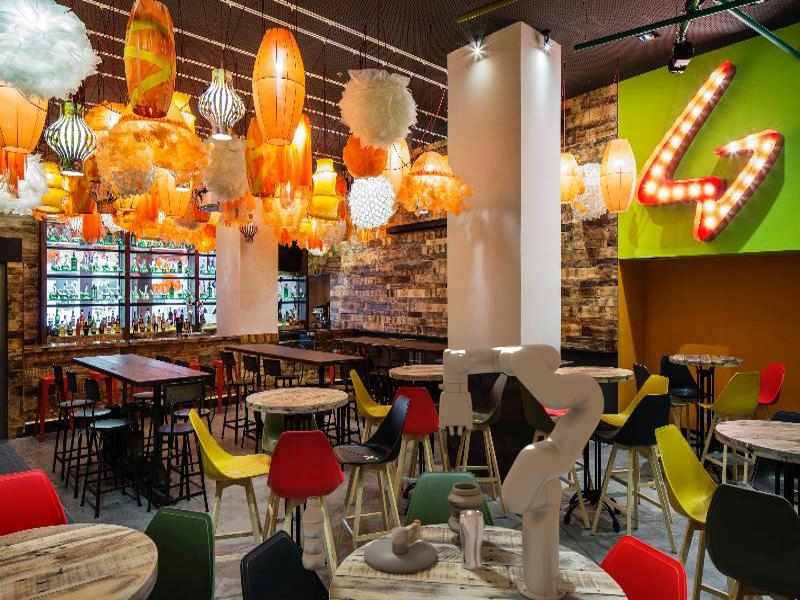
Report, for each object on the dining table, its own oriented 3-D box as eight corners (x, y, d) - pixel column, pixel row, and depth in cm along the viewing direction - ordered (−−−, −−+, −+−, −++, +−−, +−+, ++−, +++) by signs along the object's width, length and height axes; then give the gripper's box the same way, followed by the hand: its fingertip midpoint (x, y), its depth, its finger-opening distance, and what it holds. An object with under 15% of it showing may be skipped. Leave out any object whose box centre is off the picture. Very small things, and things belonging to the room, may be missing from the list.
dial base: (449, 551, 174) (449, 546, 174) (412, 579, 155) (412, 573, 155) (390, 537, 186) (390, 532, 186) (349, 561, 167) (349, 555, 167)
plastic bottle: (313, 575, 158) (313, 503, 159) (297, 569, 162) (297, 499, 163) (330, 567, 163) (329, 497, 164) (313, 561, 167) (313, 493, 168)
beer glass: (483, 571, 160) (482, 518, 161) (458, 569, 161) (458, 516, 162) (484, 561, 167) (484, 510, 167) (461, 559, 168) (460, 508, 169)
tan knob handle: (402, 555, 167) (402, 534, 167) (388, 551, 170) (388, 530, 170) (425, 541, 177) (425, 521, 177) (412, 538, 180) (412, 518, 180)
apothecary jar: (440, 543, 180) (440, 486, 181) (459, 531, 190) (459, 478, 191) (474, 552, 173) (473, 493, 174) (491, 539, 183) (491, 484, 184)
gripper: (431, 389, 172) (431, 450, 171) (480, 389, 171) (481, 450, 170) (431, 386, 179) (431, 444, 179) (478, 386, 178) (479, 445, 178)
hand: (455, 447), depth 175 cm, fingers closed
